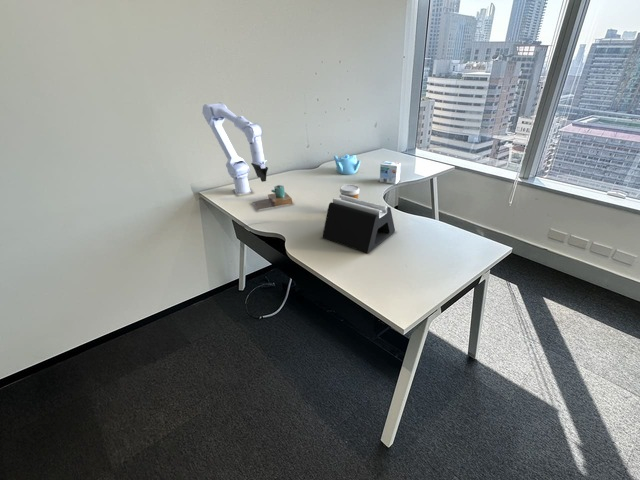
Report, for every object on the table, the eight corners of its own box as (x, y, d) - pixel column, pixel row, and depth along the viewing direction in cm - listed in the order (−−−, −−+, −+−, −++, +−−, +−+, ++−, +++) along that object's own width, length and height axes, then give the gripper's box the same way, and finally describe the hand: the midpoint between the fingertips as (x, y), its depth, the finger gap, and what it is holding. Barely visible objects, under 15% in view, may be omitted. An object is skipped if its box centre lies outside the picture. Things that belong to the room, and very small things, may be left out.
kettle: (283, 193, 170) (281, 183, 167) (286, 196, 167) (285, 186, 164) (270, 195, 167) (269, 185, 164) (273, 199, 164) (272, 188, 161)
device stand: (367, 253, 128) (368, 218, 120) (322, 238, 138) (320, 205, 129) (394, 231, 144) (396, 199, 135) (352, 219, 154) (352, 188, 145)
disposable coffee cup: (362, 209, 164) (362, 185, 157) (355, 216, 156) (355, 192, 149) (344, 206, 166) (344, 183, 159) (337, 213, 159) (336, 189, 152)
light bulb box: (379, 181, 197) (380, 163, 191) (383, 178, 202) (383, 160, 196) (396, 184, 194) (397, 166, 188) (399, 180, 199) (400, 163, 193)
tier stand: (251, 203, 167) (250, 197, 165) (285, 197, 175) (284, 191, 173) (257, 211, 159) (255, 205, 157) (292, 204, 167) (291, 198, 165)
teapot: (361, 175, 207) (361, 157, 201) (337, 176, 204) (337, 158, 198) (356, 167, 219) (356, 151, 213) (334, 168, 216) (333, 152, 210)
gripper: (269, 154, 156) (273, 182, 163) (261, 147, 166) (265, 173, 174) (254, 155, 153) (259, 184, 160) (246, 148, 163) (252, 175, 171)
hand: (261, 179), depth 167 cm, fingers open, 7 cm apart
